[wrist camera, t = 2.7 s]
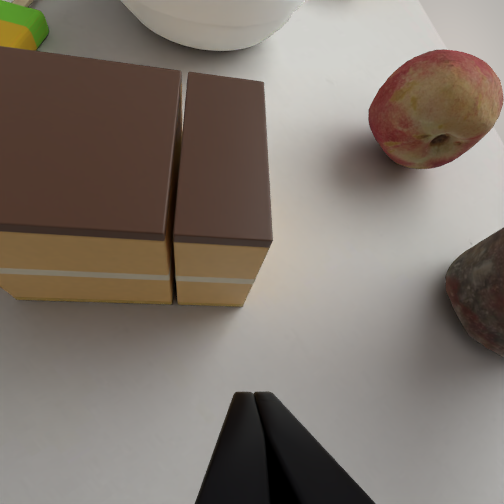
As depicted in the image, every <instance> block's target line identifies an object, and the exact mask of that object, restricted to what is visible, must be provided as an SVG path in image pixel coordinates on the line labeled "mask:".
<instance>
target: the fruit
mask: <svg viewBox="0 0 504 504" xmlns="http://www.w3.org/2000/svg"><path fill="white" fill-rule="evenodd" d="M502 105H503V93H502V86H501V82H500V80H499V78H498V77H497V75H496V74H495V72H494V71H493V70H492V68H491V67H490V66H489V65H488V64H487V63H485V62H484V61H483V60H481V59H479V58H477V57H475V56H473V55H470V54H467V53H464V52H459V51H452V50H434V51H430V52H427V53H424V54H422V55H420V56H417V57H414V58H413V59H411V60H409V61H407V62H406V63H405V64H403V65H402V66H401V67H399V68H398V69H397V70H396V71H395V72H394V73H393V74H392V75H391V76H390V77H389V78H388V79H387V81H386V82H385V83H384V84H383V86H382V87H381V88H380V89H379V91H378V93H377V95H376V96H375V98H374V100H373V102H372V104H371V106H370V108H369V125H370V129H371V131H372V133H373V135H374V137H375V139H376V141H377V142H378V143H379V145H380V146H381V148H382V149H383V151H384V152H385V153H386V154H387V155H388V156H389V158H390V159H392V160H393V161H394V162H395V163H397V164H399V165H402V166H405V167H408V168H415V169H429V168H435V167H440V166H442V165H444V164H447V163H449V162H452V161H453V160H455V159H456V158H458V157H459V156H461V155H462V154H463V153H465V152H466V151H468V150H469V149H470V148H472V147H473V146H474V145H475V144H476V143H477V142H478V141H479V140H481V139H482V138H483V137H484V136H485V135H486V134H487V133H488V132H489V131H490V130H491V128H492V127H493V126H494V124H495V122H496V120H497V119H498V117H499V115H500V112H501V108H502Z"/></svg>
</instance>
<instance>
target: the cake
mask: <svg viewBox="0 0 504 504" xmlns="http://www.w3.org/2000/svg"><path fill="white" fill-rule="evenodd" d="M181 83H182V72H181V71H179V70H172V69H164V68H157V67H150V66H142V65H135V64H128V63H121V62H113V61H106V60H99V59H91V58H84V57H77V56H70V55H62V54H55V53H48V52H40V51H33V50H26V49H19V48H11V47H4V46H0V287H1V288H3V289H4V290H5V291H6V292H8V293H9V294H10V295H12V296H13V297H14V298H15V299H16V300H44V301H76V302H108V303H140V304H172V299H173V288H174V276H175V257H174V241H173V229H174V218H175V208H176V197H177V186H178V176H179V165H180V154H181V143H182V133H183V132H182V84H181Z"/></svg>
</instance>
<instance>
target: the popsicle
mask: <svg viewBox="0 0 504 504" xmlns="http://www.w3.org/2000/svg"><path fill="white" fill-rule="evenodd" d="M32 2H33V0H14V1H13V2H12V3H9V2H6V1H2V0H0V46H4V47H11V48H19V49H26V50H33V51H36V50H37V48H38V47H39V46H40V44H41V43H42V42H43V40H44V39H45V38H46V36H47V35H48V33H49V29H48V25H47V22H46V19H45V17H44V14H43V13H42V12H41V11H39V10H36V9H32V8H28V6H29V5H30V4H31V3H32Z"/></svg>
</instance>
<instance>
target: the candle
mask: <svg viewBox="0 0 504 504" xmlns="http://www.w3.org/2000/svg"><path fill="white" fill-rule="evenodd" d="M445 278H446V292H447V294H448V296H449V298H450V300H451V303H452V306H453V309H454V310H455V312H456V314H457V317H458V318H459V319H460V321H461V324H462V325H463V327H464V328H465V330H466V331H467V333H468V335H469V336H471V337H472V338H473V339H475V340H476V341H477V342H478V343H481V344H482V345H483V346H484V347H486V348H487V349H490V350H492V351H493V352H495V353H497V354H499V355H500V356H502V357H504V228H502V229H501V230H499V231H497V232H496V233H494V234H492V235H491V236H489V237H487V238H486V239H484V240H483V241H481V242H479V243H478V244H477V245H475V246H474V247H472V248H470V249H468V250H467V251H465V252H464V253H463V254H461V255H460V256H459V257H458V258H457V259H456V260H455V261H454V262H453V263H452V264H451V266H450V267H449V269H448V271H447V274H446V277H445Z"/></svg>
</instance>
